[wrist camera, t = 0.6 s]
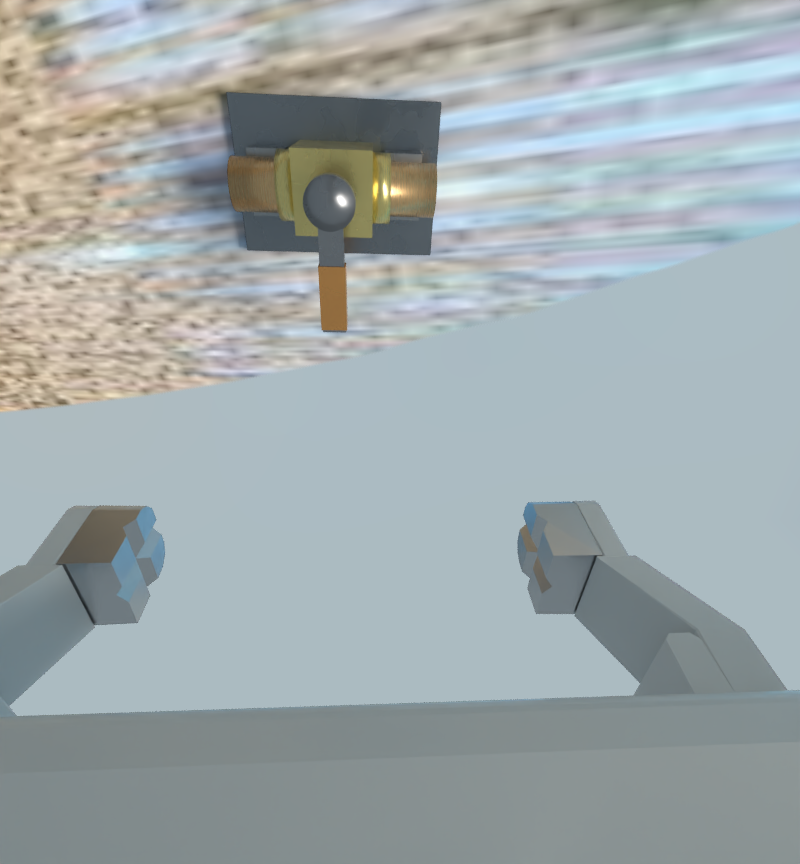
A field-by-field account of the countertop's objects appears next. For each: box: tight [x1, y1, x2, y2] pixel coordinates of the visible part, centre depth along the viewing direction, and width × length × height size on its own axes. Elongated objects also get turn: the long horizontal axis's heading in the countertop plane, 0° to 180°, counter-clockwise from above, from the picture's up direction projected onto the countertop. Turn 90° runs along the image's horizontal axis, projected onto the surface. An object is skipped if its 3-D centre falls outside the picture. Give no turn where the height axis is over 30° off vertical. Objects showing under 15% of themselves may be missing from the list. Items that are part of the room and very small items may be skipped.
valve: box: [226, 92, 441, 255], centre depth 39 cm, size 12×17×10 cm
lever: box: [303, 172, 356, 332], centre depth 36 cm, size 11×4×1 cm, turn 178°
